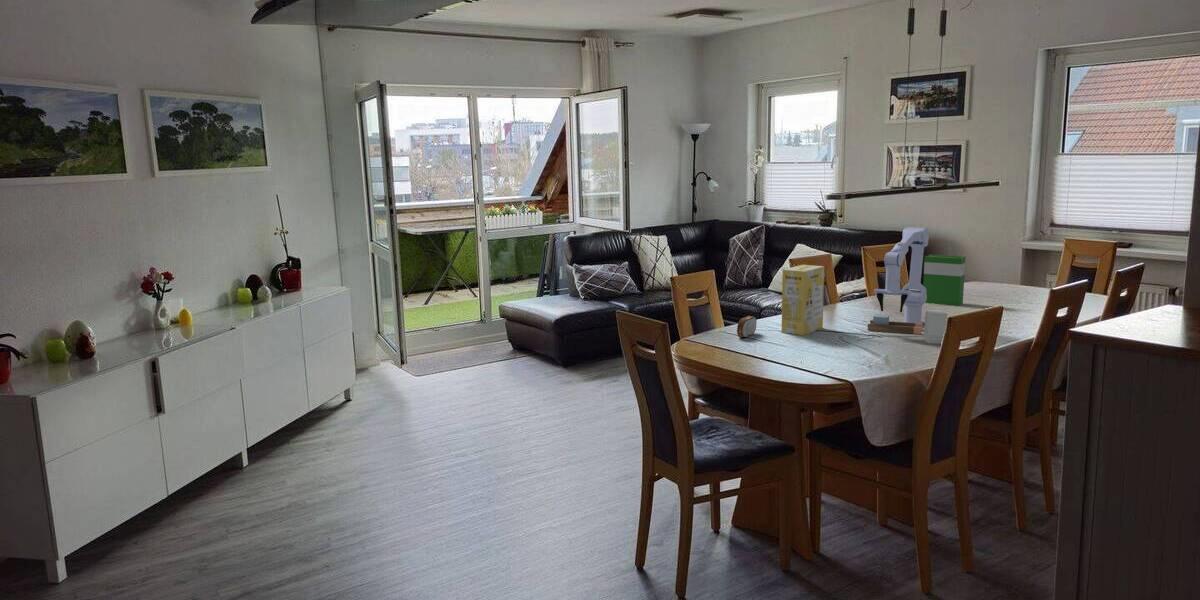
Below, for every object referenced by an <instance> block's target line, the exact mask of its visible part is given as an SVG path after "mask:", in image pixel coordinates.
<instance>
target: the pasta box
mask: <svg viewBox="0 0 1200 600" xmlns="http://www.w3.org/2000/svg"><path fill="white" fill-rule="evenodd" d="M781 280H782V281H781V283H782V284H781V286H782V287H781V292H782V293H781V333H783V332H785V333H786V334H790V333H792V335H797V334H799V335H798V336H805V335H808V334H810V332H811V333H813V332H815V331H818V330H820V329H823V325H824V296H825V295H824V290H825V289H824V288H825V266H824V265H811V264H800V265H797V266H795V265H794V266H792V267H789V268H784V269H782V279H781ZM785 333H784V334H785Z"/></svg>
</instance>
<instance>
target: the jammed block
mask: <svg viewBox="0 0 1200 600" xmlns="http://www.w3.org/2000/svg"><path fill="white" fill-rule="evenodd" d="M872 320H873V324H880V325H889V321H890V314H879V313H874V315H873V317H872Z"/></svg>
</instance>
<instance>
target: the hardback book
mask: <svg viewBox="0 0 1200 600" xmlns="http://www.w3.org/2000/svg"><path fill="white" fill-rule="evenodd" d="M923 262H924V263H923V264H924V265H923V282H922V283H923V284H922V285H923V286H924V287H925V288H926V294H927V299H926V302H925V304H932V303H934V304H935V305H943V304H946V305H945V306H953V305H954V306H955V307H960V306H961V305H963V304H964V289H965V287H964V286H965V272H966V256H958V255H942V254H928V255H924V261H923Z"/></svg>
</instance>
